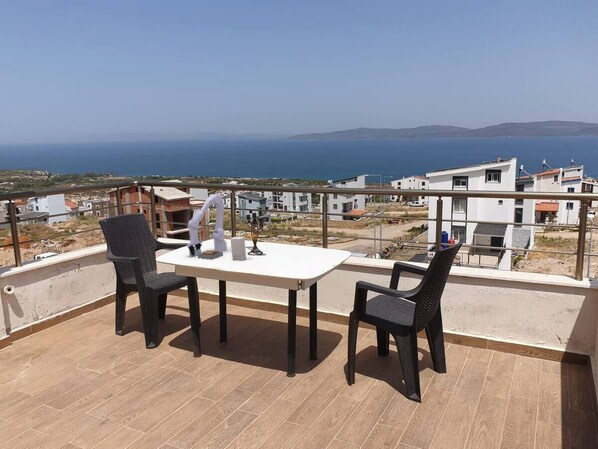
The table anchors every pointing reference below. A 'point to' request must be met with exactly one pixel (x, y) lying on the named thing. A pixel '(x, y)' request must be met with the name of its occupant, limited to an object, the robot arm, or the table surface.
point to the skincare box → (238, 248)
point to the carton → (196, 252)
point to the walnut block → (210, 252)
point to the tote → (210, 256)
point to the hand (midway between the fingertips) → (195, 254)
